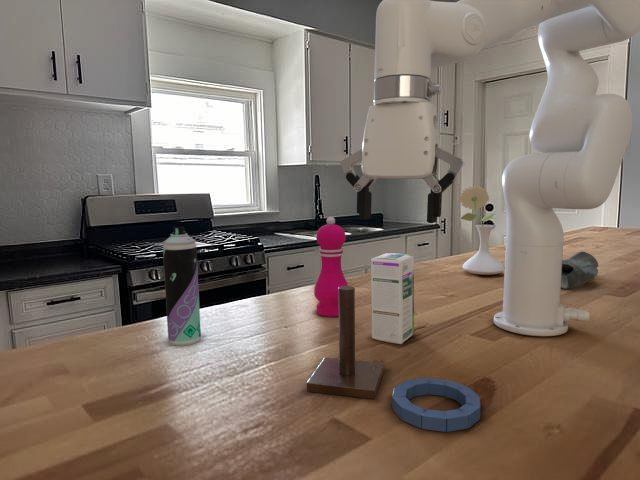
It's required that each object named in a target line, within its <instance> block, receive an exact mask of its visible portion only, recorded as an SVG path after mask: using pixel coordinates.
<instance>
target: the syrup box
mask: <svg viewBox="0 0 640 480" xmlns="http://www.w3.org/2000/svg"><path fill="white" fill-rule="evenodd" d="M370 289H371V290H370V303H371V305H370V306H371V308H370V309H371V310H370V311H371V338H372V339H373V340H376V341H381V342H386V343H390V344H398V345H403V344H404V343H405V342H406V341H407V340H408V339H409V338H411V337H412V336H414V334H415V256H414V255H413V254H409V253H408V254H407V253H397V252H394V253H391V252H389V253H386V252H385V253H383V254H381V255H378V256H375V257H371V258H370Z"/></svg>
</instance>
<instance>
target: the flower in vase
mask: <svg viewBox="0 0 640 480" xmlns="http://www.w3.org/2000/svg"><path fill="white" fill-rule="evenodd" d="M458 197H459V198H458V200H459V202H460V203H461V206H462V207H464V208H467V209H469V210H472V211H473V210H474V213H471V212H467V213H465V214H463V215H462V216H461V218H460V220H464V221H469V222H472V221H473V220H474V219H476V218H477V220H478V221H479V223H480V224H475V225H474V226H475V228H476V229H477V231H478V236H479V249H478V251H477V252H476V253H475V254H474V255H472V256H471V257H470V258H469V259H467V260H466V261H464V263H463V264H462V269H463V270H464V271H465V272H467V273H470V274H474V275H479V276H480V275H481V276H491V275H492V276H493V275H498V274H500V273H503V272H505V265H503V263H502V262H501V261H499V259H497V258H496V257H495V256H494V255H493V254H492V253H491V252H490V250H489V239H490V234H491V232H492V230H493V228H494V227H495V225H493V224H483V222H485V221H488V220H490V219H492V218H493V217H494V216H495V212H493V213H490V214H488V215H486V216H483V218H481V219H480V218H479V216H478V214H477V209H481V208H483V207H486V204H488V201H490V196H489V194H488V191H487V188H482V186H477V185H473V186H471V185H470V186H468V188H467V187H466V188H465V189H463V190H462V192H461V193H460V195H459V196H458Z"/></svg>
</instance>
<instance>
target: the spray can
mask: <svg viewBox="0 0 640 480" xmlns="http://www.w3.org/2000/svg"><path fill="white" fill-rule="evenodd" d="M169 235H170V236H169V237H168V238H166V239H165V240H163V242H162V243H163V245H162V256H163V272H164V274H163V275H164V290H165V291H164V292H165V309H166V323H167V324H166V325H167V326H166V327H167V339H168V340H167V341H168V344H169V345H171V346H177V347H178V346H179V347H182V346H189V345H194V344H196V343H198V342H200V341H201V339H202V331H201V313H200V309H201V308H200V291H199V290H200V289H199V273H198V272H199V271H198V270H199V269H198V251H197V249H198V248H197V243H196V239H194V238H193V237H191V236H189V234H188V233H187V231H185V226H173V232H171V233H170V234H169Z"/></svg>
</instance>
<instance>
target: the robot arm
mask: <svg viewBox="0 0 640 480" xmlns="http://www.w3.org/2000/svg"><path fill="white" fill-rule="evenodd" d="M375 15H376V16H375V40H374V41H375V42H374V43H375V45H374V77H373V78H374V80H373V81H374V82H373V83H374V84H373V104H372V105H369V107H368V111H367V115H366V119H365V125H364V131H363V139H362V147H361V149H359V150H357V151H356V152H354V153H352V154H351V155H349V156H348V157H345V158H344V159H342V160H341V161H340V167H341V169H342V171H343V173H344V175H345V179H346V180H347V182H348V183H349V184H350V185H351V186H352V187H353V190H354V191H355V192H356V213H357V214H358V219H359V220H360V221H365V220H369V219H371V218H372V202H373V201H372V199H373V195H372V193H373V192H371V191H370V188H371V186H372V185H373V184H374V183H375V182H376V181H377V179H381V180H382V179H384V180H423V181H424V182H425V184H426V185H427V186H428V187H429V189H430V192H429V193H428V194H427V202H426V203H427V205H426V206H427V207H426V223H428V224H435V223H437V221H438V218H440V217H442V201H443V193H444V192H445V191H446V190H447V189H448V188H449V187H450V186H451V185H452V184H453V183H455V181H456V180H457V178H458V176H459V174H460V173H461V171H462V170H463V168H464V166H465V159H462V158H460V157H458V156H457V155H454V154H453V153H451V152H449V151H447V150H445V149H443V148H441V147H440V136H439V134H440V133H439V132H440V131H439V120H438V111H437V106H436V104H434V103H432V102H431V101H432V99H433V97H435V96H436V95H441V93H442V84H441V83H436V82H433V81H432V80H431V78H432V77H431V76H432V73H431V72H432V70H434V69H438V68H442V67H447V66H450V65H454V64H459V63H462V62H465V61H467V60H469V59H472V58H474V57H475V56H476V55H477V54H478V53H480V52H481V50H482V49H483V48H487V47H489V46H492V45H496V44H498V43H501V42H505V41H507V40H509V39H512V38H514V37H516V36H517V35H519V34H522V33H523V32H525V31H527V30H529V29H531V28H533V27H536V26H538V27H537V28H538V29H537V42H538V46H539V49H540V52H541V56H542V58H543V63H544V65H545V70H546V73H547V79H546V80H547V82H546V84H545V89H544V91H543V93H542V96H541V99H540V102H539V104H538V107H537V110H536V111H535V114H534V117H533V120H532V123H531V124H530V125H531V126H530V129H529V134H528V135H529V136H528V137H529V143H530V145H531V147H532V148H533V149H534V150H536V151H537V152H534V153H526V154H522V155H519V156H517V157H515V158H513V159H512V160H510V161H509V162H508V163H507V165H506V166H505V167H504V169H503V172H502V177H501V186H502V193H503V199H504V206H505V248H504V249H505V252H504V268H505V269H504V271H503V272H504V273H503V275H504V276H503V278H504V279H503V297H502V298H503V299H502V311H498V312H496V313H495V314H494V315H493V323H494V325H495V326H497V327H498V328H500V329H502V330H503V331H507V332H510V333H514V334H518V335H524V336H532V337H554V336H555V337H557V336H561V335H564V334H565V333H567V332H568V330H569V322H570V321H577V322H589V321H590V311H589V310H583V309H578V308H577V307H565V306H564V305H563V304H562V303H561V289H562V288H561V273H562V260H563V254H564V253H563V252H564V240H565V236H564V229H563V225H562V223H561V220H560V219H559V217H558V215H557V213H556V212H555V211H554V209H560V210H561V209H563V210H593V209H597V208H599V207H601V206H602V205H603V204H604V203H605V202H607V200H608V198H609V197H610V195H611V192H612V191H613V189H614V185H615V182H616V179H617V176H618V173H619V171H620V168H621V166H622V162H623V159H624V156H625V153H626V151H627V148H628V145H629V142H630V138H631V134H632V129H633V111H632V108H631V105H630V103H629V101H628V100H627V99H626V98H625V97H624V96H621V95H619V94H615V93H601V94H597V91H598V88H599V77H598V75H597V73H596V71H595V69H594V68H593V67H592V65H590V64H589V63H588V62H587V61H586V60H585V59H584V58H583V56H582V55H581V53H580V52H582V51H586V50H587V51H588V50H591V49H595V48H600V47H604V46H608V45H614V44H617V43H621V42H624V41H626V40H630V39H631V38H633V37H634V36H635V35H636V34H638V32H639V31H640V0H458V1H455V2H454V1H453V2H452V1H437V0H382V1H381V2H380V3H379V4H378V6H377V9H376V14H375ZM440 160H442V161H443V162H445V163H446V164H448V165H449V168H448V171H447V173H446V174H444V176H442V178H439V177H438V174H439V171H440ZM359 163H361V172H362V175H361V177H360V176H359V175H358V174H357V173H356V171H355V165H356V164H359Z"/></svg>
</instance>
